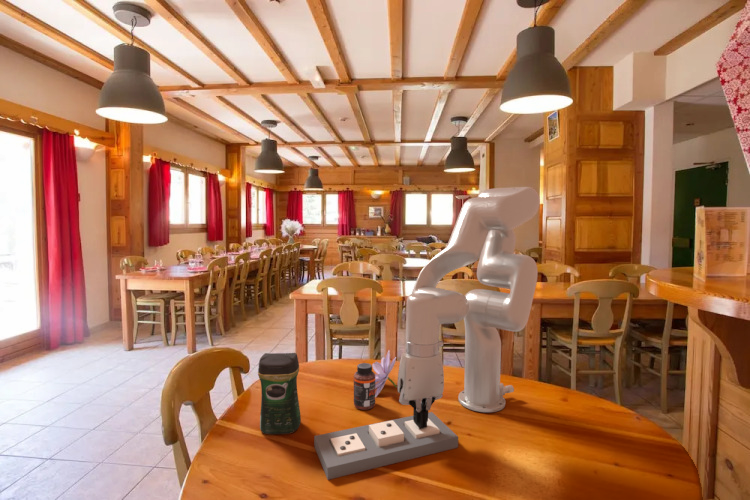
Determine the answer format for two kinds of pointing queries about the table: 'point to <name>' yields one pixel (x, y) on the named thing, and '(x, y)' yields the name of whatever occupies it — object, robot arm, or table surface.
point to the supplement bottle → (364, 387)
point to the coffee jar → (279, 393)
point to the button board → (381, 448)
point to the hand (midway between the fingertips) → (420, 425)
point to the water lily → (383, 372)
